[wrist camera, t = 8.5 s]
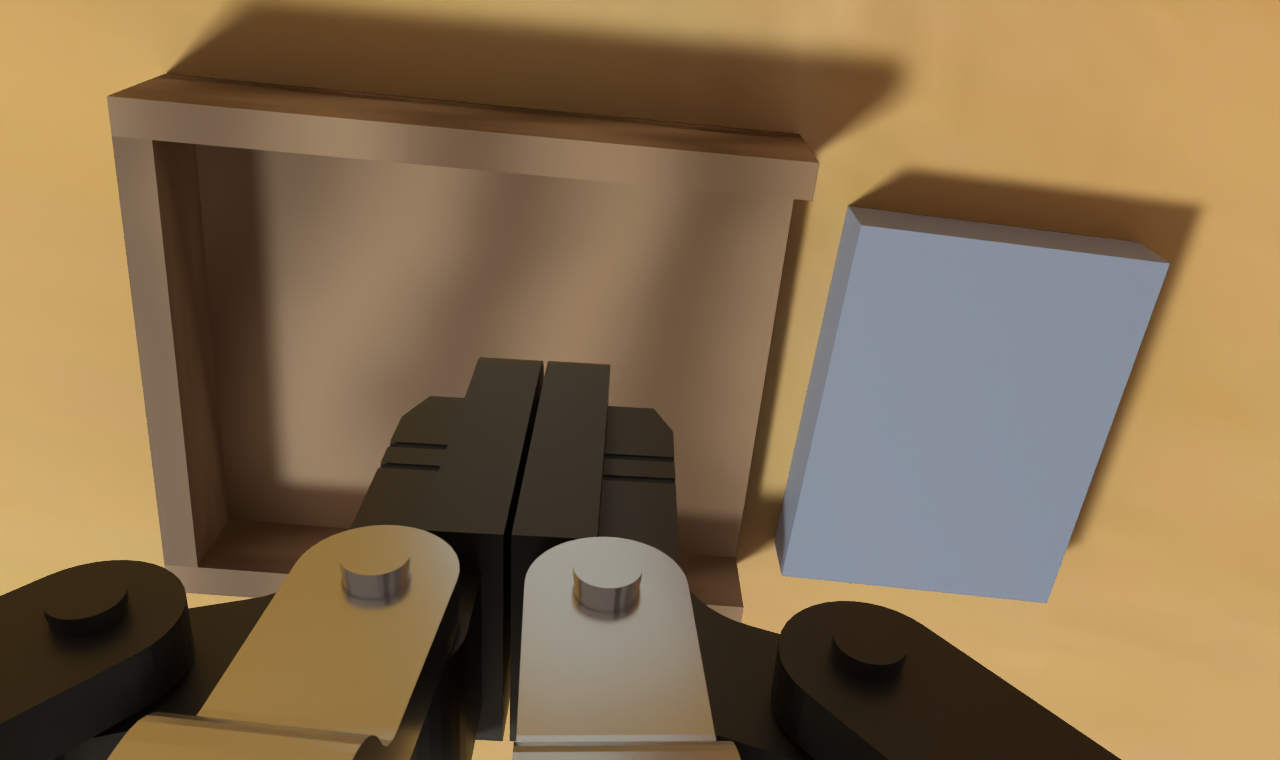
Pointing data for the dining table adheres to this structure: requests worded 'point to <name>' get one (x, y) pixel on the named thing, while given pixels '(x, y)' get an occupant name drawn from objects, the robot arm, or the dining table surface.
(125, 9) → the dining table surface
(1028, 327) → the cover plate
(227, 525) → the walnut tray
